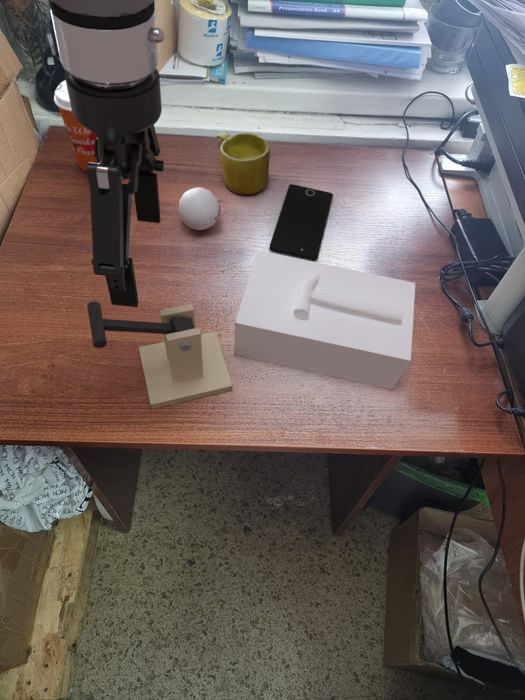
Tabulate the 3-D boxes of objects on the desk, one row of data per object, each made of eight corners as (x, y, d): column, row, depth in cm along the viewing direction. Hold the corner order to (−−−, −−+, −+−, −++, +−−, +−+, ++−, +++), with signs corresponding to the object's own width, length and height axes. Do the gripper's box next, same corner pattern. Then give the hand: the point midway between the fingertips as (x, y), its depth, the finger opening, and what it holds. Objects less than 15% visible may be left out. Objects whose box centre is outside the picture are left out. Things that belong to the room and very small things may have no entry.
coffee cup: (66, 172, 98) (44, 98, 85) (81, 146, 102) (62, 73, 90) (108, 179, 98) (92, 107, 85) (121, 153, 102) (108, 80, 90)
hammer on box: (253, 285, 86) (257, 239, 77) (398, 316, 85) (420, 272, 76) (233, 354, 79) (235, 312, 69) (392, 389, 77) (416, 351, 68)
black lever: (91, 350, 60) (95, 338, 58) (84, 310, 63) (89, 298, 61) (192, 353, 67) (199, 343, 66) (182, 318, 70) (188, 307, 69)
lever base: (151, 409, 73) (140, 363, 62) (139, 352, 78) (127, 300, 67) (232, 390, 75) (234, 343, 64) (215, 336, 80) (215, 284, 69)
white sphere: (213, 242, 91) (212, 211, 85) (173, 233, 92) (170, 201, 85) (229, 206, 96) (230, 174, 90) (192, 197, 97) (190, 165, 91)
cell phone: (332, 196, 100) (333, 192, 99) (316, 262, 90) (317, 258, 89) (289, 187, 100) (289, 183, 100) (268, 251, 91) (268, 247, 90)
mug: (288, 181, 98) (273, 137, 90) (244, 210, 98) (226, 168, 90) (258, 155, 106) (242, 113, 98) (217, 182, 105) (198, 141, 97)
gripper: (125, 164, 34) (150, 349, 51) (181, 10, 48) (186, 194, 65) (10, 150, 33) (75, 342, 50) (102, -1, 48) (128, 187, 65)
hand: (138, 259), depth 58 cm, fingers open, 13 cm apart
